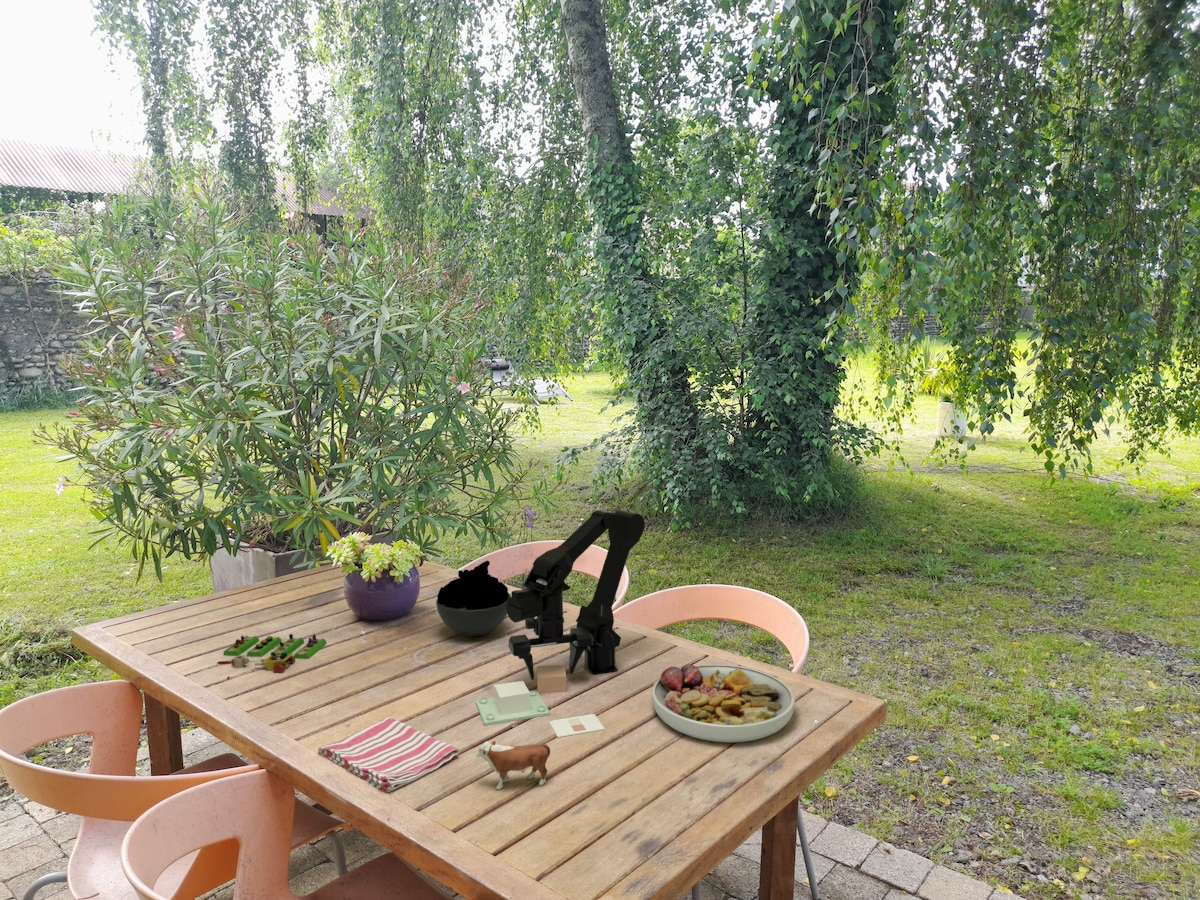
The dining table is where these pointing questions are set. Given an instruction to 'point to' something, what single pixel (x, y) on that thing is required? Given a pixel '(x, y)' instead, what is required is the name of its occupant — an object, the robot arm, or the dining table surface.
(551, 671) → the terracotta brick
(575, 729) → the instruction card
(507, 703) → the cream brick
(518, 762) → the bull figurine
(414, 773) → the dish towel
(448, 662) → the dining table surface
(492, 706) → the plate
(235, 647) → the toy garden set
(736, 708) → the bowl
